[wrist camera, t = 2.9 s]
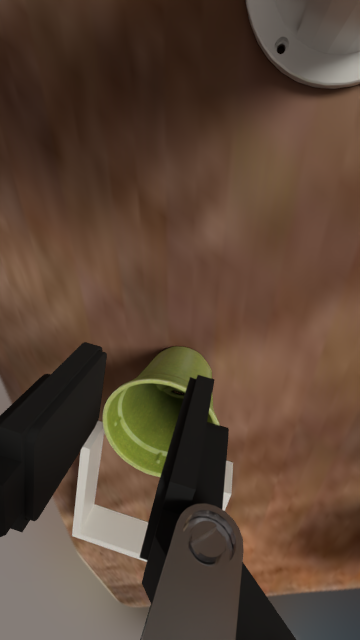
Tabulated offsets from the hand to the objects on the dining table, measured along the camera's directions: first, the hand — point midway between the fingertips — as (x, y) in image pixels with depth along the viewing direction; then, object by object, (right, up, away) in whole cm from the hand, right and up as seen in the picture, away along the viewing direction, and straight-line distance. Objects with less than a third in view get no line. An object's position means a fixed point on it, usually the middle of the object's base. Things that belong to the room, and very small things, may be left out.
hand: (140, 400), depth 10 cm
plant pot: (+1, -3, +22) cm, 23 cm away
